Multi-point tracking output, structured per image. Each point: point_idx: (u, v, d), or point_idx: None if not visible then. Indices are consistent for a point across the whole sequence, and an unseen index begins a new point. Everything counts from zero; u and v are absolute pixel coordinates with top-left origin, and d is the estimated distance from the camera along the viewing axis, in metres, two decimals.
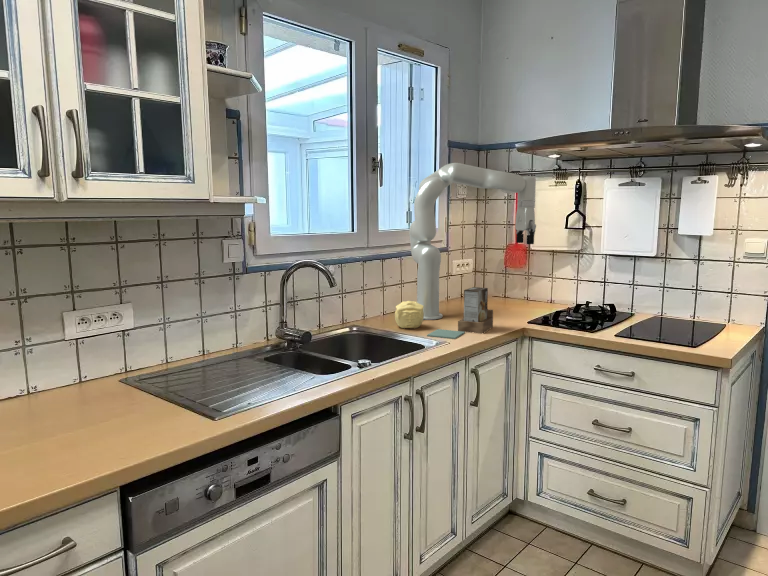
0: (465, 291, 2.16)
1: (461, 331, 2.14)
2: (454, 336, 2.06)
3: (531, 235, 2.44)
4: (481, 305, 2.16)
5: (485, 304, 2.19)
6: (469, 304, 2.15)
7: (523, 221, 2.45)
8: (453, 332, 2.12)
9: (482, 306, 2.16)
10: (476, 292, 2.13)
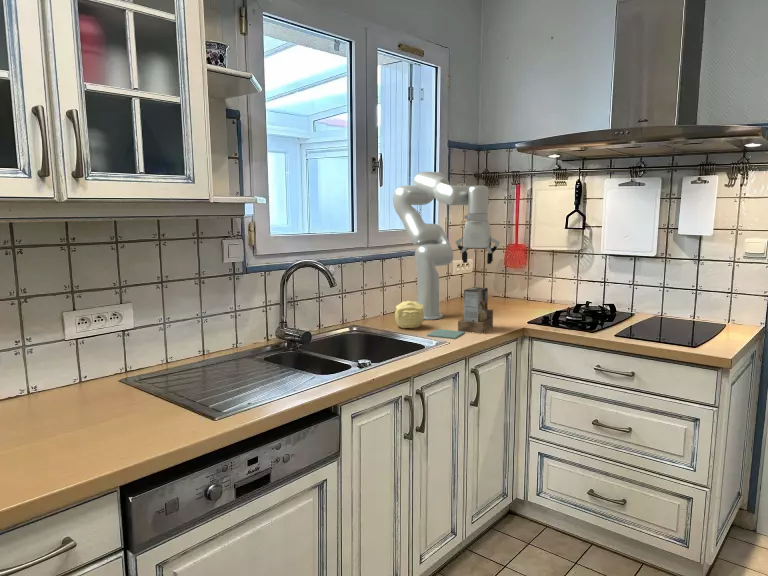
0: (465, 291, 2.16)
1: (461, 331, 2.14)
2: (454, 336, 2.06)
3: (492, 253, 2.13)
4: (481, 305, 2.16)
5: (485, 304, 2.19)
6: (469, 304, 2.15)
7: (483, 238, 2.11)
8: (453, 332, 2.12)
9: (482, 306, 2.16)
10: (476, 292, 2.13)
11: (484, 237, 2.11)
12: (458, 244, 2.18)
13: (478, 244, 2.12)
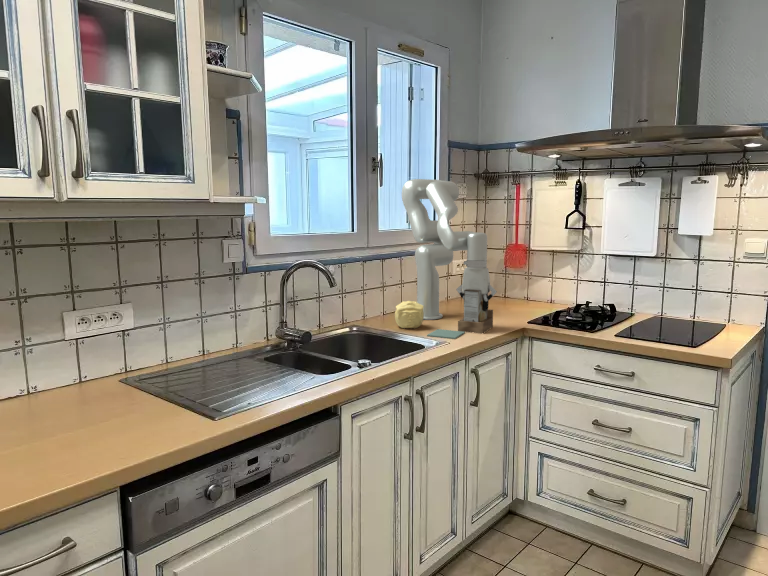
0: (465, 291, 2.16)
1: (461, 331, 2.14)
2: (454, 336, 2.06)
3: None
4: (481, 305, 2.16)
5: None
6: (469, 303, 2.15)
7: (482, 284, 2.14)
8: (453, 332, 2.12)
9: (482, 306, 2.16)
10: (476, 292, 2.13)
11: (483, 284, 2.14)
12: (459, 291, 2.21)
13: None
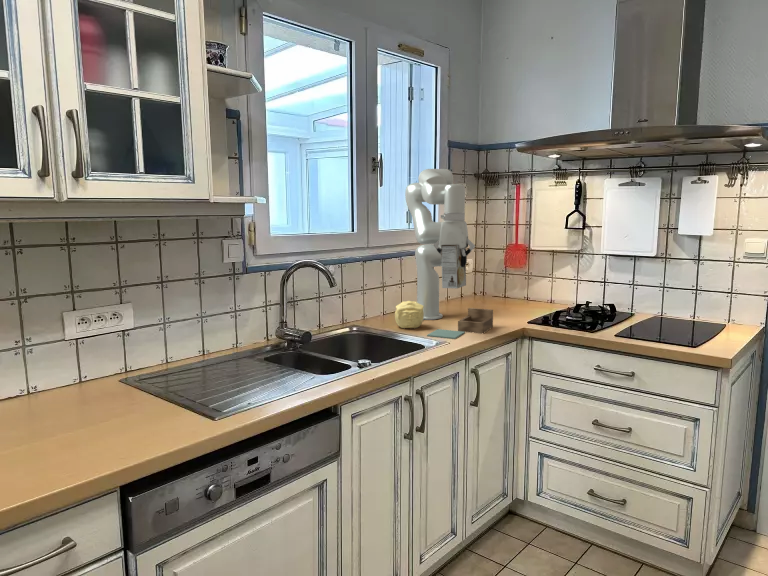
0: (442, 246, 2.05)
1: (461, 331, 2.14)
2: (454, 336, 2.06)
3: (466, 256, 2.07)
4: (460, 260, 2.06)
5: None
6: (447, 259, 2.05)
7: (460, 238, 2.04)
8: (453, 332, 2.12)
9: (460, 262, 2.06)
10: (454, 246, 2.03)
11: (461, 237, 2.04)
12: (436, 247, 2.11)
13: None
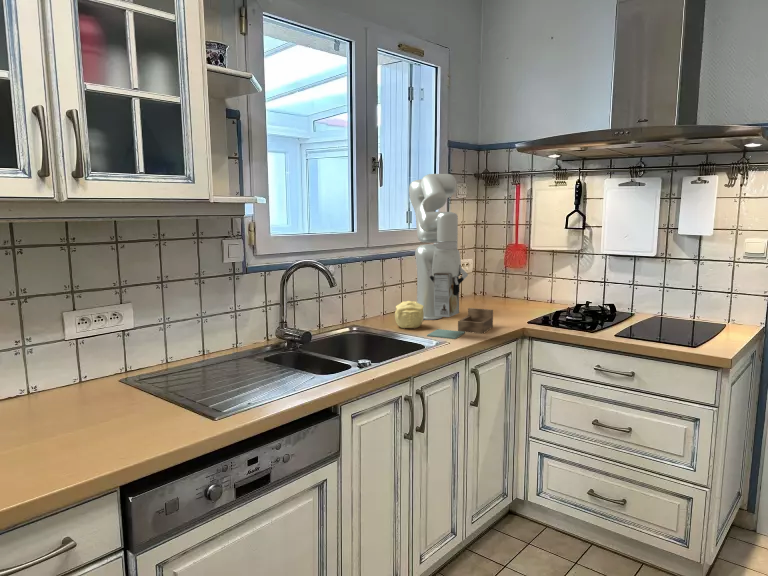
0: (435, 274, 2.05)
1: (461, 331, 2.14)
2: (454, 336, 2.06)
3: (458, 284, 2.06)
4: (452, 288, 2.05)
5: None
6: (439, 288, 2.05)
7: (452, 266, 2.03)
8: (453, 332, 2.12)
9: (453, 290, 2.06)
10: (446, 275, 2.03)
11: (453, 266, 2.03)
12: (429, 274, 2.10)
13: None
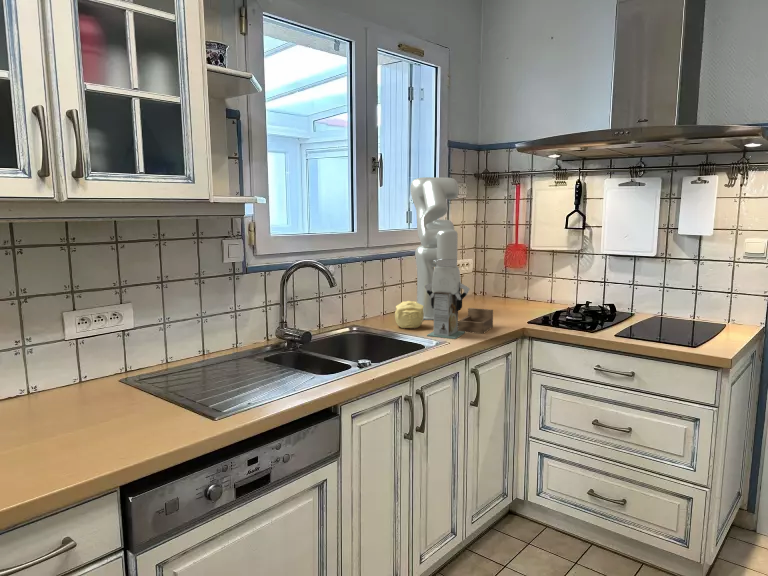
0: (435, 294, 2.06)
1: (461, 331, 2.14)
2: (454, 336, 2.06)
3: (461, 299, 2.06)
4: (452, 308, 2.07)
5: None
6: (439, 307, 2.06)
7: (452, 284, 2.04)
8: None
9: (452, 309, 2.07)
10: (446, 295, 2.04)
11: (453, 283, 2.04)
12: (427, 288, 2.12)
13: (447, 290, 2.06)
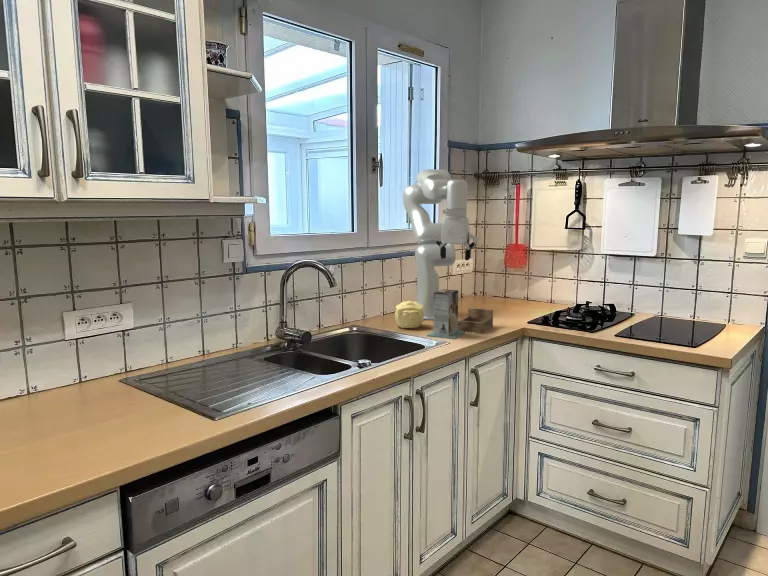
0: (435, 294, 2.06)
1: (461, 331, 2.14)
2: (454, 336, 2.06)
3: (470, 249, 2.08)
4: (452, 308, 2.07)
5: (456, 307, 2.10)
6: (439, 307, 2.06)
7: (461, 233, 2.06)
8: None
9: (452, 309, 2.07)
10: (446, 295, 2.04)
11: (462, 233, 2.06)
12: (436, 239, 2.14)
13: (456, 240, 2.08)
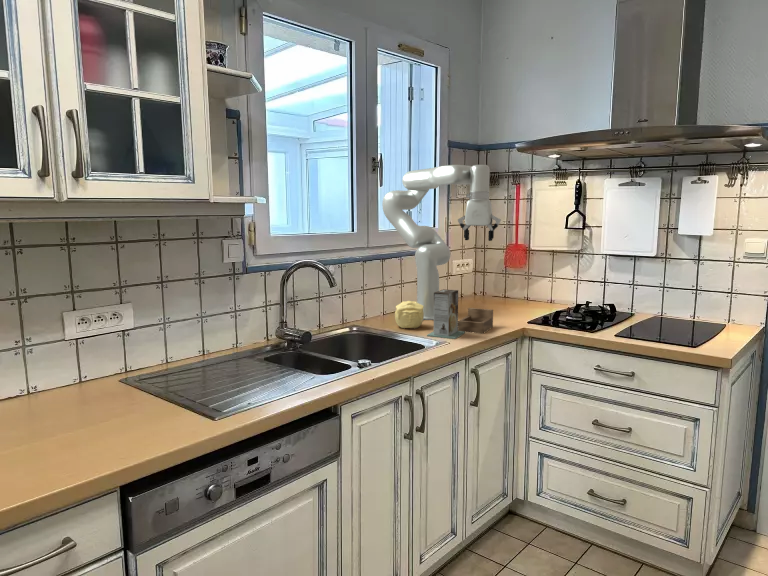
0: (435, 294, 2.06)
1: (461, 331, 2.14)
2: (454, 336, 2.06)
3: (493, 230, 2.20)
4: (452, 308, 2.07)
5: (456, 307, 2.10)
6: (439, 307, 2.06)
7: (485, 215, 2.18)
8: None
9: (452, 309, 2.07)
10: (446, 295, 2.04)
11: (485, 215, 2.18)
12: (460, 222, 2.25)
13: (479, 221, 2.19)
